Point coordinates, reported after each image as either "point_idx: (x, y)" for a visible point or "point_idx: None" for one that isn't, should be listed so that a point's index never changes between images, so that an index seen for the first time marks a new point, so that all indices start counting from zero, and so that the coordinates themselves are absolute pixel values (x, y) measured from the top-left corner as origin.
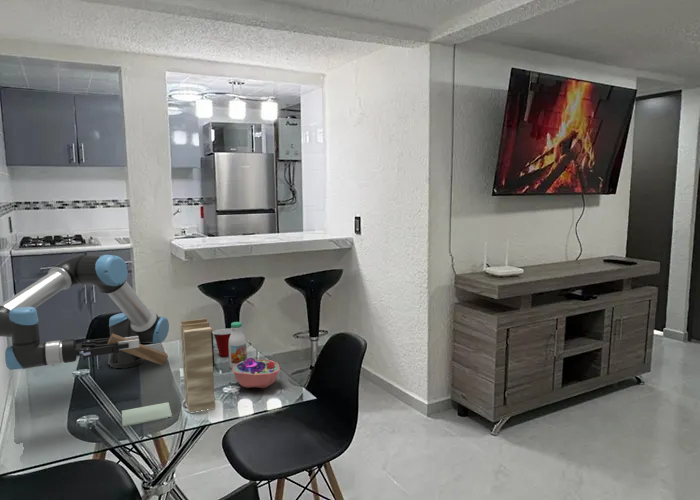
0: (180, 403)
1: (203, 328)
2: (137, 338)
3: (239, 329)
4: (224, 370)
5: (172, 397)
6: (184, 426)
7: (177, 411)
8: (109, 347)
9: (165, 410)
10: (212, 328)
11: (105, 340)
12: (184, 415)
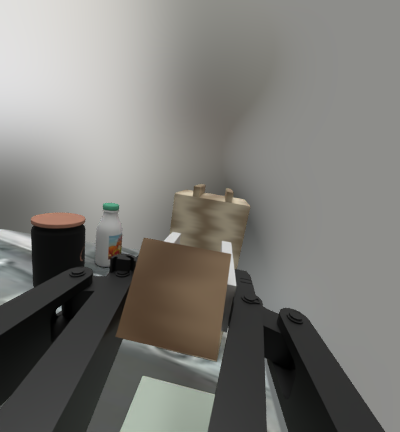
0: (160, 358)
1: (236, 199)
2: (178, 242)
3: (117, 212)
4: (101, 272)
5: (118, 360)
6: (269, 391)
7: (193, 377)
8: (329, 359)
9: (181, 398)
10: (77, 214)
11: (84, 328)
12: (219, 372)
